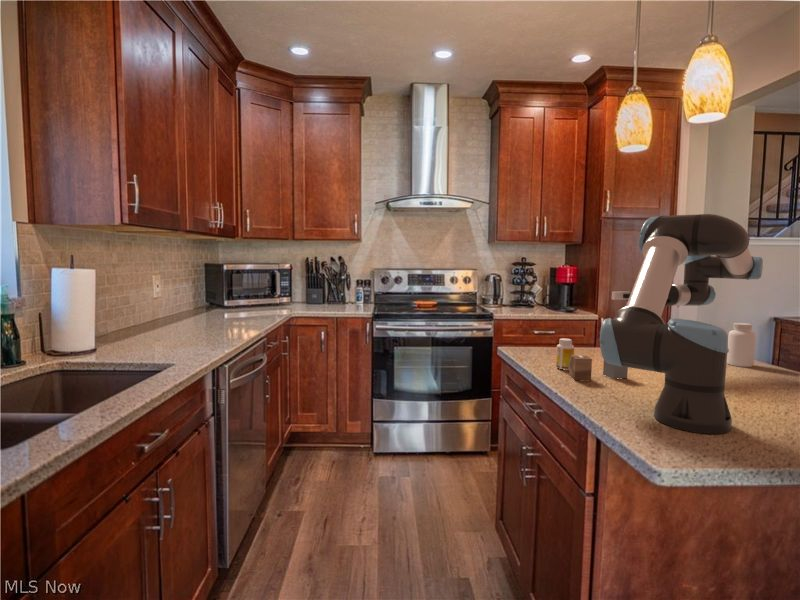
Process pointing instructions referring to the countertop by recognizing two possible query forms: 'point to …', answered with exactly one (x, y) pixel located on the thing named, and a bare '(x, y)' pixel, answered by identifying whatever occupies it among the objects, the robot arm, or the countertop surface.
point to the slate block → (614, 371)
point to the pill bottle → (741, 345)
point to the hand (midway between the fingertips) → (613, 295)
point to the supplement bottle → (564, 353)
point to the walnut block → (580, 367)
